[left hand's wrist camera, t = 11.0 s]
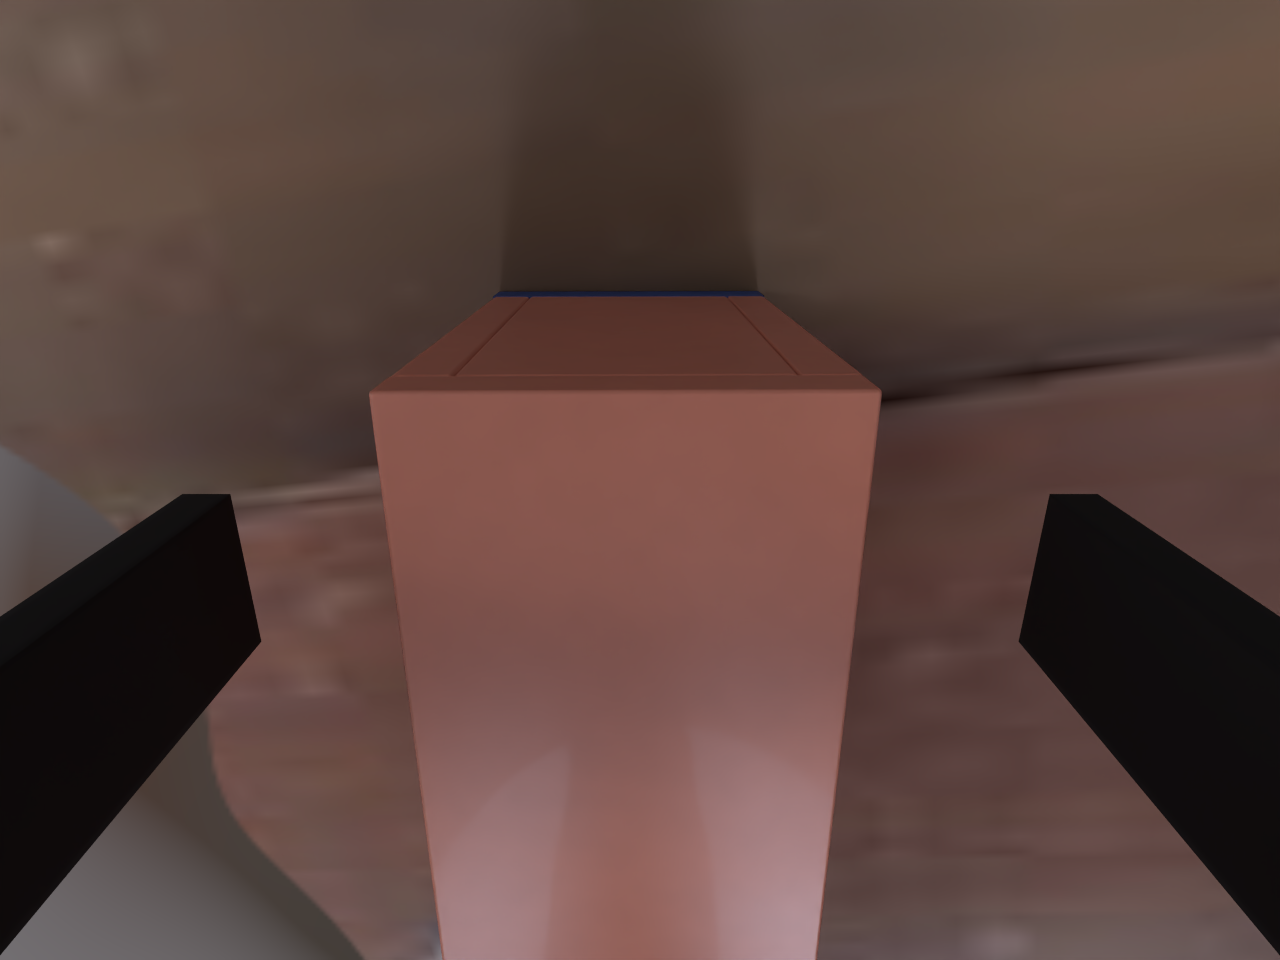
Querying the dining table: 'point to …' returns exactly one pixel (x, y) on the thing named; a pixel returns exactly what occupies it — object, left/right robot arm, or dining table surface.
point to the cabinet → (627, 619)
